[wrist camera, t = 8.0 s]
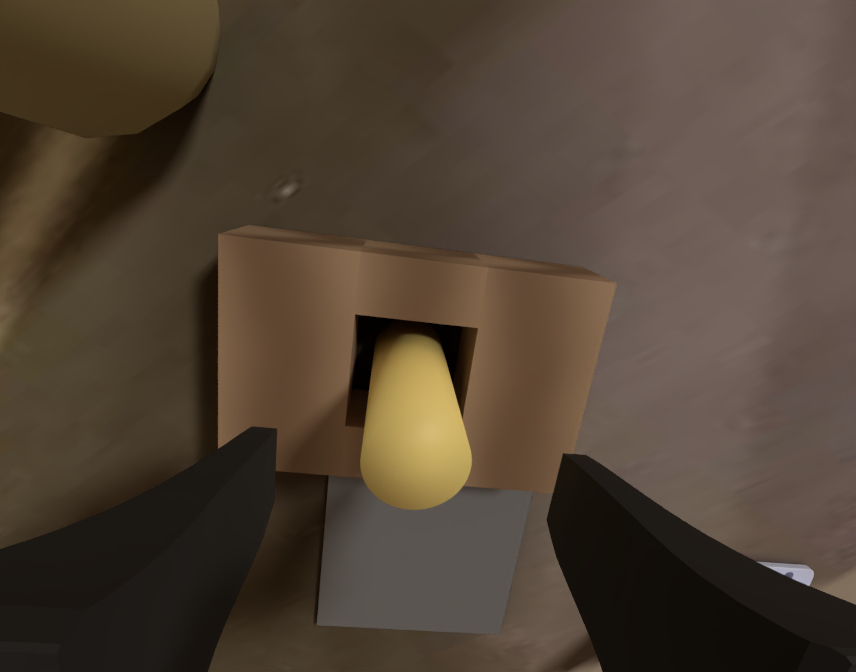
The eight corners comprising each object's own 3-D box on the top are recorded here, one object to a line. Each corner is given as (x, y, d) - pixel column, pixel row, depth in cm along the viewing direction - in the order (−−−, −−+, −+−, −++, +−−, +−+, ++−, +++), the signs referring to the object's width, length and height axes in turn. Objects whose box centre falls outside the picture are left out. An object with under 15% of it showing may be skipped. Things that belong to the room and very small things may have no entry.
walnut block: (581, 266, 21) (616, 283, 17) (539, 449, 23) (563, 494, 20) (249, 224, 19) (218, 234, 16) (245, 423, 22) (218, 466, 19)
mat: (533, 475, 24) (535, 479, 24) (498, 629, 27) (499, 634, 27) (330, 459, 23) (329, 462, 23) (317, 620, 26) (316, 625, 26)
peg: (445, 320, 21) (479, 416, 13) (437, 383, 22) (464, 512, 13) (377, 314, 21) (364, 408, 12) (372, 378, 22) (356, 507, 13)
